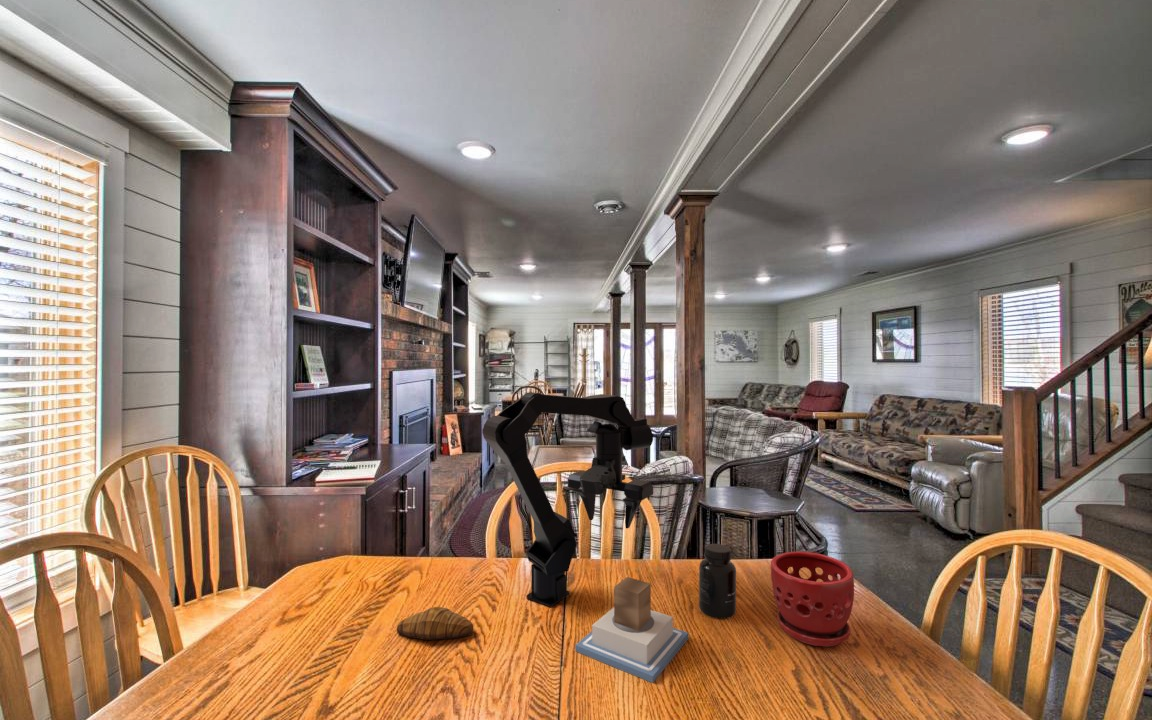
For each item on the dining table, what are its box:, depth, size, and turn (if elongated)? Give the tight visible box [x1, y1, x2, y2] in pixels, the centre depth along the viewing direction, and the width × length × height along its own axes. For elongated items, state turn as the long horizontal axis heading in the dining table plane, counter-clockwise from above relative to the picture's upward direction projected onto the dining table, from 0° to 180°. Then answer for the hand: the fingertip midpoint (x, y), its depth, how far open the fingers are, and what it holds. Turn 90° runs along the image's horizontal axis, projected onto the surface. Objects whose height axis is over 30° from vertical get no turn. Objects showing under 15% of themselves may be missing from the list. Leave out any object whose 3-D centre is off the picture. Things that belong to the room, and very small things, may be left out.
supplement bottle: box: [698, 543, 737, 620], centre depth 94 cm, size 7×7×12 cm
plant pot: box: [770, 551, 855, 648], centre depth 87 cm, size 13×13×12 cm
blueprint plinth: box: [574, 606, 690, 684], centre depth 83 cm, size 14×14×4 cm
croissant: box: [396, 606, 474, 641], centre depth 86 cm, size 14×7×5 cm, turn 87°
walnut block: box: [613, 576, 652, 631], centre depth 83 cm, size 4×4×6 cm
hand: (609, 523), depth 108 cm, fingers open, 9 cm apart
